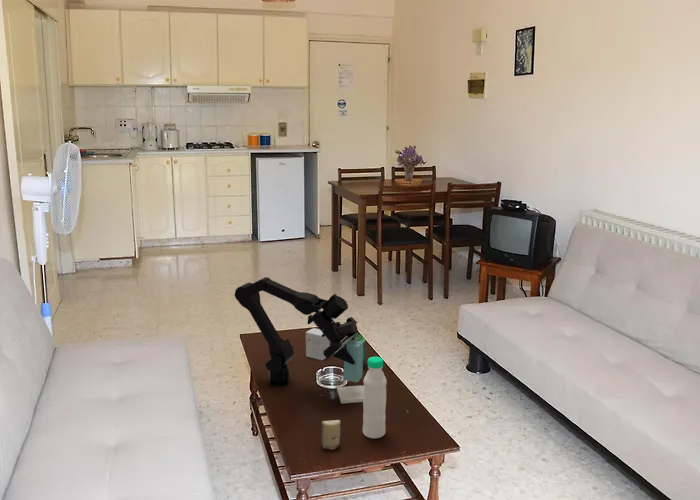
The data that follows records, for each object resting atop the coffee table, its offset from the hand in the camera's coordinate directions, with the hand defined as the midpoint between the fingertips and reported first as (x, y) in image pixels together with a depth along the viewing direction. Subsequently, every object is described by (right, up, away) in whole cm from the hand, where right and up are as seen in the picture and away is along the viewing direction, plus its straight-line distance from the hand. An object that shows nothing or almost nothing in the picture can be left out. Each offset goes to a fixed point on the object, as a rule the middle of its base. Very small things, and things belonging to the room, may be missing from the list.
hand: (357, 360), depth 220 cm
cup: (-1, -7, +29) cm, 30 cm away
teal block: (-1, -6, +2) cm, 7 cm away
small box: (-15, -5, +37) cm, 40 cm away
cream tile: (-1, -13, +4) cm, 13 cm away
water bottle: (+5, -19, -21) cm, 29 cm away
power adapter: (-8, -21, -28) cm, 36 cm away
